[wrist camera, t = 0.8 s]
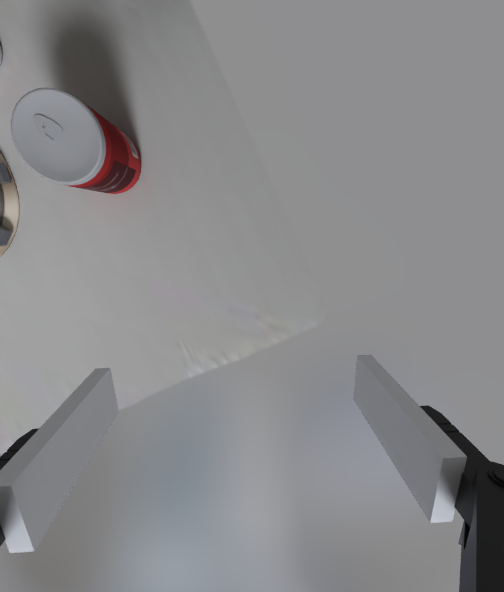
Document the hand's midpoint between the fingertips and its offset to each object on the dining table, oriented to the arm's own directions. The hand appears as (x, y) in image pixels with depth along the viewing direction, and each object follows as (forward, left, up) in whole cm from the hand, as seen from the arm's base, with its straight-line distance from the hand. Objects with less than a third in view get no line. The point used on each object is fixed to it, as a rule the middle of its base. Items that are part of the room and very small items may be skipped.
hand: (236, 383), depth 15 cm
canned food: (-18, -12, -26) cm, 34 cm away
